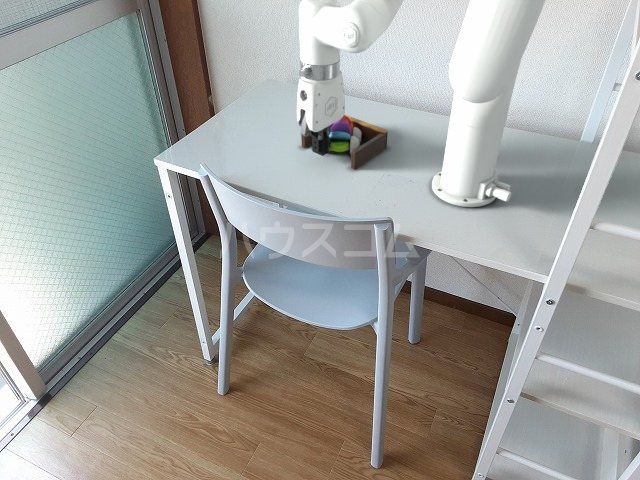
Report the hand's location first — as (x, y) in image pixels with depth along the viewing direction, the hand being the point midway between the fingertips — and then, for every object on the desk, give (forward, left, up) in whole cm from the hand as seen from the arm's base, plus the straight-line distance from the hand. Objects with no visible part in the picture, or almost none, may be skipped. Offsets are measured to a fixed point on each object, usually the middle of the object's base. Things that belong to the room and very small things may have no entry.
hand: (320, 152), depth 110 cm
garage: (-1, -6, -2) cm, 7 cm away
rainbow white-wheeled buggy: (0, -7, -2) cm, 7 cm away
